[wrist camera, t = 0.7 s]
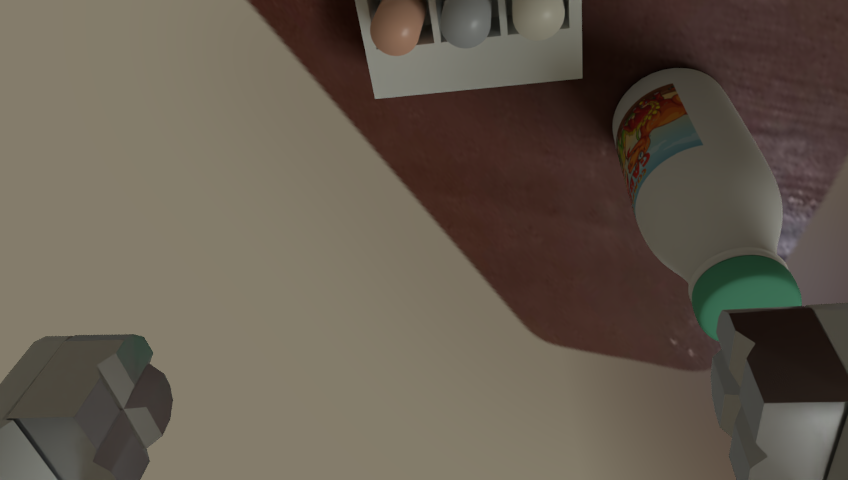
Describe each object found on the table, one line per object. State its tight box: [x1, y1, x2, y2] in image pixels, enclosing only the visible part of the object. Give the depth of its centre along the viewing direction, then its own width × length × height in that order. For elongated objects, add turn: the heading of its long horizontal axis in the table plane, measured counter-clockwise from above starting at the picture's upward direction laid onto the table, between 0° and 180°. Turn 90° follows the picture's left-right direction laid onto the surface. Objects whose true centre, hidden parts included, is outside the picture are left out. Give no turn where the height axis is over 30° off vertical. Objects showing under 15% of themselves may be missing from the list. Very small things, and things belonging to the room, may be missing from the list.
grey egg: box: [440, 0, 492, 48], centre depth 39 cm, size 3×3×4 cm
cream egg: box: [512, 0, 565, 41], centre depth 39 cm, size 3×3×4 cm
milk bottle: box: [612, 68, 802, 341], centre depth 39 cm, size 8×8×20 cm
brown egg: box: [370, 0, 427, 56], centre depth 40 cm, size 3×3×4 cm
